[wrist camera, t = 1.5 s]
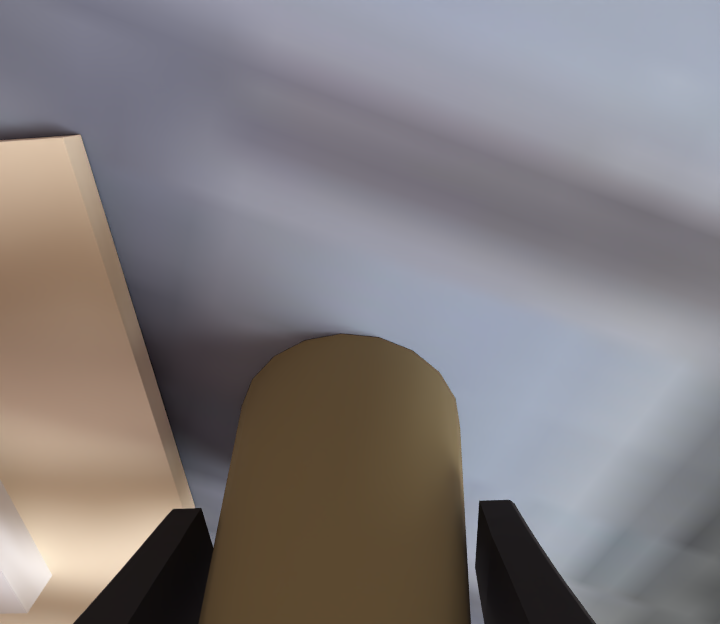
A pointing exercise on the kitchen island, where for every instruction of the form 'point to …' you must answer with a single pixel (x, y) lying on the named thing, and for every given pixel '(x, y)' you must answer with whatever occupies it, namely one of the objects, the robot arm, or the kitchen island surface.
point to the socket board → (71, 394)
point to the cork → (343, 493)
